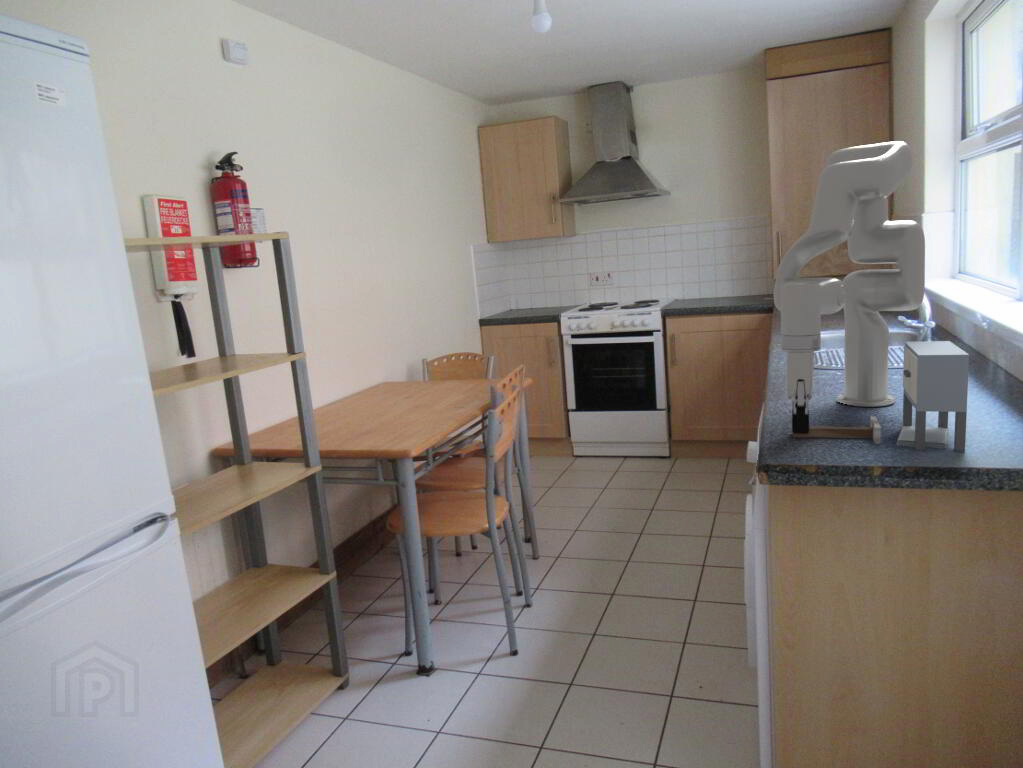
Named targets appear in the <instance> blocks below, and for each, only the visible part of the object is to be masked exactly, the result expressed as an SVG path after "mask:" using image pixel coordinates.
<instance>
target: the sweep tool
mask: <svg viewBox="0 0 1023 768" xmlns="http://www.w3.org/2000/svg"><path fill="white" fill-rule="evenodd" d="M796 403H798V402H796ZM869 417H870V419H869V427H867V426H866V427H864V426H862V427H861V426H860V427H859V426H858V427H857V426H855V427H854V426H810V425H809V433H808V434H800V433H793V432H792V438H798V439H799V438H803V439H805V438H806V439H808V438H836V439H837V438H839V439H842V438H843V439H872V440H873V442H874V444H875V445H881V444H882V443H881V441H882V440H881V439H882V434H881V433H882V427H881V425H880V423H879V421H878V418H877V416H876V415H870V416H869Z"/></svg>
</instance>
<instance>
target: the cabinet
mask: <svg viewBox="0 0 1023 768" xmlns="http://www.w3.org/2000/svg"><path fill="white" fill-rule="evenodd" d="M969 364H970V354H969V353H967V352H966V351H965V350H963V349H961V348H960V347H959V346H958V345H956V344H954V343H953V342H952V341H950V340H945V341H944V340H938V341H937V340H932V341H929V340H926V341H904V345H903V364H902V365H903V368H902V370H903V371H902V388H903V398H902V401H903V402H902V403H903V405H902V406H903V407H902V426H913V408H914V409H915V419H914V421H915V425H914V426H915V447H914V450H915V451H916V450H925V451H926V447H925V429H926V427H927V424H926V423H927V421H926V420H927V412H932V413H933V412H935V413H936V412H937V413H938V414H937V415H938V418H937V419H938V420H937V428H947V429H948V428H949V412H950V413H951V412H952V413H953V412H954V413H955V416H954V437H953V440H954V441H953V444H954V445H953V450H954V452H955V451H960V453H964V452H965V453H966V440H967V439H966V435H967V433H966V432H967V415H968V414H967V413H968V391H969V390H968V388H969V387H968V384H969V367H970V365H969ZM948 430H949V429H948Z"/></svg>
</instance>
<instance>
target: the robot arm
mask: <svg viewBox="0 0 1023 768" xmlns="http://www.w3.org/2000/svg"><path fill="white" fill-rule="evenodd" d="M913 160H914V156H913V151H912V149H911V147H910V145H909V144H908V143H906V142H904V141H902V140H901V141H900V140H898V141H897V140H896V141H888V142H880V143H874V144H873V143H872V144H865V145H858V146H857V145H856V146H850V147H845V148H841V149H838V150H835V151H834V152H832V153H831V154H830V155H829V156H828V158H827V160H826V167H825V168H824V169H823V170H822V172H821V173H820V176H819V177H818V178H819V179H818V183H817V188H816V194H815V198H814V202H813V207H812V212H811V216H810V221H809V226H808V229H807V230H806V231H805V232H804V233H803V234H802V235H801V236H800V237H799V238H798V239H796V241H795V242H794V243H793V244H792V245H791V247H789V249H788V250H787V251H786V253H785V254H784V255H783V257H782V258H781V261H780V263H779V264H778V265H779V266H778V269H777V273H776V279H775V283H774V286H773V287H774V288H773V302H774V305H775V308H776V309H777V310H778V311H780V351H781V352H785V354H786V356H785V399H786V400H787V401H790V399H792V411H791V414H792V415H791V432H792V434H793V433H800V434H808V433H809V426H810V410H809V401H810V400H811V399H812V395H813V388H814V372H815V369H814V368H815V352H818V351H821V350H822V349H821V345H822V344H821V342H822V341H821V340H822V338H821V337H822V335H821V334H822V333H821V330H822V329H821V326H822V325H821V324H822V315H833V314H836V313H838V312H840V311H841V310H842V309H843V316H844V360H843V361H844V371H843V372H844V373H843V377H844V379H843V382H844V384H843V393H840V394H838V395H837V397H836V402H838V403H839V402H840V403H839V404H841V403H843V404H842V405H845V404H847V406H851V405H852V406H853V407H866V408H867V407H869V408H870V407H871V408H872V407H873V408H875V407H885V406H891V405H893V404H894V403H895V401H896V398H895V396H893V395H891V394H888V385H889V384H888V383H889V381H888V380H889V345H890V343H889V341H890V340H889V339H890V331H889V326H888V323H887V322H886V320H885V319H884V318H883V316H882V315H881V314H880V312H886V311H887V312H904V311H905V312H906V311H907V312H908V311H914V310H916V309H918V308H919V307H921V305H922V304H923V301H924V298H925V297H924V296H925V290H926V288H925V287H926V286H925V285H926V283H925V282H926V280H925V279H926V278H925V277H926V275H925V274H926V273H925V271H926V264H925V263H926V240H925V239H926V238H925V233H924V229H923V227H922V225H920V223H919V222H917V221H915V220H909V219H906V220H903V219H901V220H889V206H888V205H889V201H888V197H889V196H891V195H892V194H893V193H894V192H895V191H896V190H897V188H899V186H900V185H902V184H903V183H904V181H905V180H906V179H907V178H908V176H909V174H910V172H911V170H912V167H913V163H914V161H913ZM846 241H847V253H848V254H847V255H848V258H849V259H850V260H851V262H853V263H854V264H860V265H876V264H877V265H880V264H883V265H884V264H885V265H886V264H896V265H898V268H897V269H895V268H893V269H892V268H891V269H883V268H882V269H881V268H880V269H878V268H877V269H861V270H855V271H853V272H850V273H848V274H846V276H845V277H844V278H843V279H842V280H841V279H838V278H836V277H798V275H799V273H800V271H801V270H802V268H803V267H804V266H805V265H806V264H807V263H808V262H809V261H810V260H813V259H814V258H815V257H817V256H819V255H820V254H823V253H825V252H827V251H829V250H831V249H833V248H835V247H838V246H839V245H841V244H843V243H845V242H846ZM796 402H798V403H796Z"/></svg>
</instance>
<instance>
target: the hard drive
mask: <svg viewBox="0 0 1023 768" xmlns="http://www.w3.org/2000/svg"><path fill="white" fill-rule="evenodd" d="M948 431H949V429H947V428H938V426H937V427H934V426H926V429H925V448H928V447H933V448H932V449H943V448H946V449H947V442H948V435H947V434H948V433H949V432H948ZM900 445H906V446H905V447H914V446H915V425H912V426H903V425H902V427H901V429H900V432H899V434H898V438H897V441H896V446H900Z"/></svg>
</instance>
